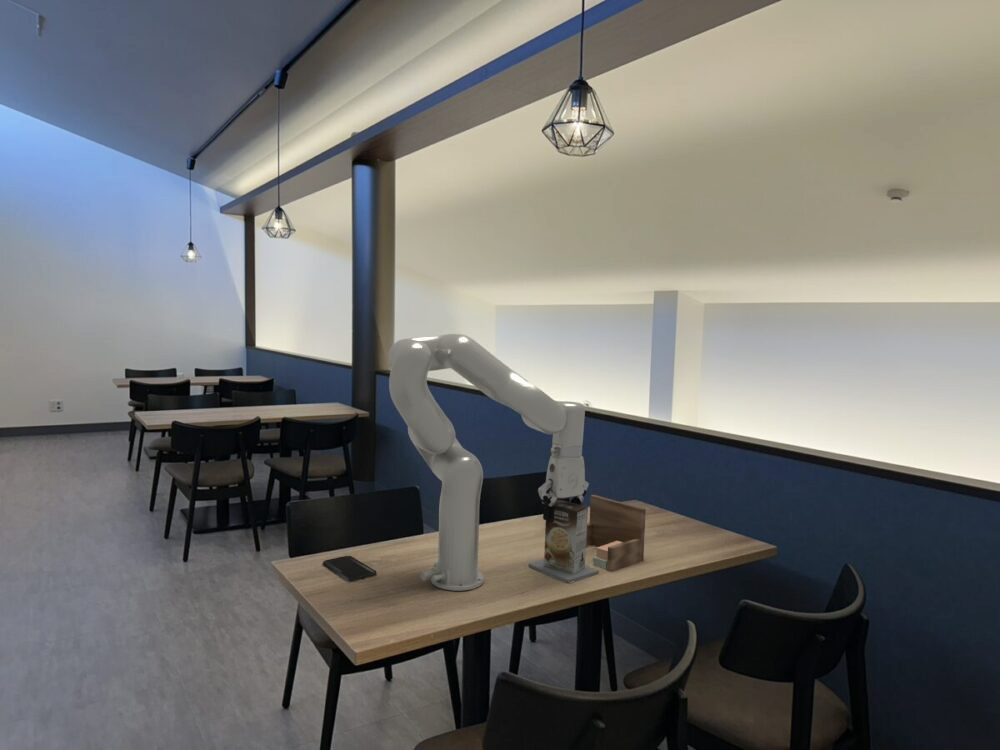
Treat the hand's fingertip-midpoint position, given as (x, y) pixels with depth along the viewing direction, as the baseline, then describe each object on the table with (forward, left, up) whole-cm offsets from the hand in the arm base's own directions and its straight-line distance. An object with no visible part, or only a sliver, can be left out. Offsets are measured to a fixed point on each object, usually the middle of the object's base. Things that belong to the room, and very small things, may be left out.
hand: (561, 518), depth 166 cm
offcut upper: (+15, -4, -11) cm, 20 cm away
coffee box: (+1, -1, -13) cm, 13 cm away
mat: (+1, 0, -13) cm, 13 cm away
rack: (+16, +1, -13) cm, 21 cm away
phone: (-42, +32, -14) cm, 55 cm away
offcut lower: (+15, -4, -14) cm, 21 cm away
